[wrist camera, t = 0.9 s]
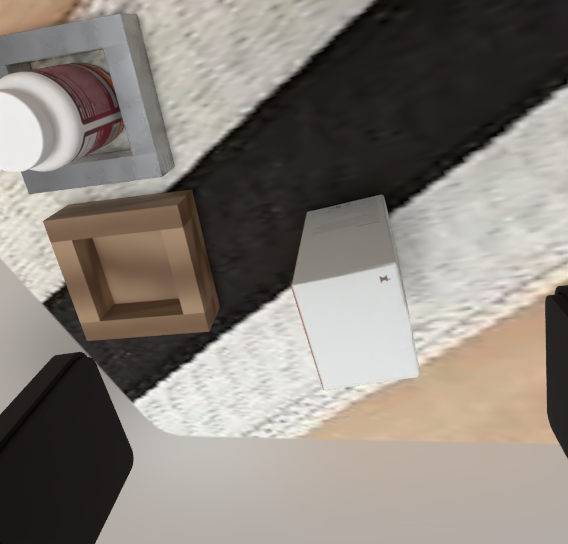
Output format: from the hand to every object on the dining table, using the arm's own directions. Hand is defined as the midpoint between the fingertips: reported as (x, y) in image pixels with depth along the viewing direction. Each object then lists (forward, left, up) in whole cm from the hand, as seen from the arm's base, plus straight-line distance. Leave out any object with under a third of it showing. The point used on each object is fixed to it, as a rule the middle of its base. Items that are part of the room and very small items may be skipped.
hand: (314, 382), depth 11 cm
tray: (+9, -18, -31) cm, 37 cm away
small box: (+10, 0, -31) cm, 33 cm away
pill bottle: (-4, -19, -31) cm, 36 cm away
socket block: (-4, -19, -31) cm, 36 cm away
